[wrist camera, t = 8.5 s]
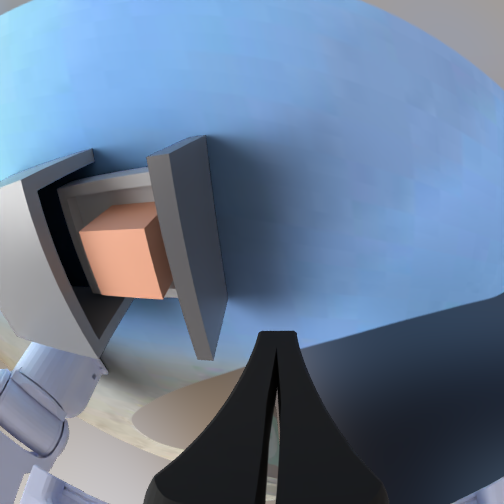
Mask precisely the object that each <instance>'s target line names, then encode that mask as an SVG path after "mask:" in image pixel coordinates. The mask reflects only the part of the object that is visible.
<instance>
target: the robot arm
mask: <svg viewBox="0 0 504 504" xmlns="http://www.w3.org/2000/svg"><path fill="white" fill-rule="evenodd" d="M102 374H104V375H107V374H108V371H107V369H106V368H105V366H104V365H103V363H102V362H101V360H100V359H95V358H91V357H86V356H82V355H78V354H74V353H70V352H66V351H63V350H59V349H55V348H52V347H49V346H45V345H42V344H39V343H35V342H32V343H31V344H30V345H29V347H28V348H27V350H26V351H25V353H24V354H23V356H22V357H21V359H20V360H19V362H18V363H17V365H16V366H15V368H14V369H13V370H12V371H9V370H8V369H0V426H1V427H2V428H4V429H5V430H6V431H7V432H9V433H10V434H11V435H12V436H14V437H15V438H16V439H17V440H19V441H20V442H22V443H23V444H24V445H26V446H27V447H28V448H30V449H31V450H33V451H34V452H29V451H27V450H25V449H23V448H22V447H20V446H19V445H18V444H16V443H15V442H14V441H12V440H11V439H10V438H9V437H7V436H6V435H5V434H4V433H2V432H1V431H0V504H14V501H15V498H16V495H17V491H18V489H19V486H20V483H21V481H22V478H23V476H24V474H26V473H30V476H29V478H28V481H27V484H26V486H25V489H24V492H23V495H22V498H21V501H20V504H109V503H106V502H103V501H101V500H99V499H97V498H95V497H93V496H90V495H88V494H86V493H84V491H82V490H80V489H78V488H76V487H73V486H72V485H70V484H68V483H66V482H64V481H62V480H60V479H59V478H57V477H55V476H53V475H52V474H50V473H48V472H49V471H50V469H51V468H52V466H53V464H54V462H55V461H56V459H57V457H58V456H59V455H60V454H61V453H62V452H63V450H64V448H65V446H66V444H67V441H68V438H69V428H68V427H69V426H68V422H67V420H66V419H65V418H72V417H75V416H77V415H79V414H80V413H81V412H82V411H83V410H84V409H85V408H86V406H87V404H88V402H89V400H90V397H91V395H92V393H93V391H94V389H95V387H96V385H97V383H98V381H99V379H100V377H101V375H102ZM277 390H278V404H279V420H280V445H279V463H278V479H277V493H276V504H389V499H388V496H387V493H386V490H385V487H384V485H383V483H382V481H381V480H380V479H379V478H378V477H377V476H376V475H375V474H374V473H373V472H372V471H371V470H370V469H369V467H368V466H367V465H366V464H365V463H364V462H363V461H362V460H361V458H360V457H359V456H358V455H357V454H356V452H355V451H354V450H353V448H352V447H351V446H350V444H349V443H348V442H347V440H346V439H345V437H344V436H343V435H342V433H341V432H340V431H339V429H338V427H337V426H336V424H335V423H334V421H333V420H332V418H331V416H330V415H329V413H328V411H327V410H326V408H325V406H324V404H323V402H322V400H321V399H320V397H319V395H318V393H317V391H316V388H315V386H314V384H313V382H312V380H311V378H310V375H309V373H308V370H307V368H306V365H305V363H304V360H303V357H302V354H301V351H300V347H299V343H298V339H297V333H296V332H295V331H261V332H259V333H258V337H257V340H256V343H255V346H254V349H253V352H252V354H251V356H250V359H249V361H248V363H247V365H246V367H245V369H244V371H243V373H242V375H241V377H240V379H239V381H238V382H237V384H236V386H235V388H234V389H233V391H232V392H231V394H230V396H229V397H228V399H227V401H226V402H225V403H224V405H223V406H222V408H221V409H220V410H219V412H218V413H217V415H216V416H215V417H214V419H213V420H212V421H211V422H210V424H209V425H208V426H207V427H206V428H205V430H204V431H203V432H202V433H201V434H200V435H199V436H198V437H197V438H196V439H195V440H194V441H193V443H192V444H190V445H189V447H187V448H186V449H185V450H184V451H183V452H182V453H181V454H180V455H179V456H178V457H177V458H176V459H175V460H173V461H172V462H171V463H170V464H169V465H167V466H166V467H165V468H164V469H162V470H161V471H160V472H158V473H157V474H156V475H155V476H154V478H153V479H152V481H151V483H150V485H149V487H148V489H147V491H146V495H145V499H144V503H143V504H265V502H266V488H267V472H268V456H269V442H270V433H271V427H272V420H273V414H274V407H275V400H276V393H277ZM452 504H504V477H502V478H500V479H499V480H497V481H495V482H494V483H492V484H490V485H488V486H487V487H484V488H482V489H480V490H478V491H476V492H474V493H472V494H470V495H468V496H466V497H464V498H462V499H460V500H458V501H457V502H454V503H452Z"/></svg>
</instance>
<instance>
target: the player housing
mask: <svg viewBox="0 0 504 504" xmlns="http://www.w3.org/2000/svg"><path fill="white" fill-rule="evenodd" d="M93 162H95V161H94V156H93V151H92V149H88V150H84V151H81V152H77V153H74V154H71V155H67V156H64V157H61V158H58V159H55V160H52V161H49V162H46V163H43V164H40V165H37V166H35V167H32V168H29V169H27V170H24V171H21V172H19V173H16V174H14V175H12V176H9V177H8V178H6V179H4V180H2V181H0V310H1V312H2V313H3V315H4V317H5V318H6V320H7V322H8V323H9V325H10V327H11V328H12V330H13V331H14V333H15V334H16V336H17V337H20V338H23V339H26V340H29V341H32V342H35V343H39V344H42V345H45V346H49V347H52V348H55V349H59V350H63V351H66V352H70V353H74V354H78V355H82V356H86V357H91V358H95V359H99V358H100V356H101V354H102V353H103V351H104V349H105V347H106V345H107V344H108V342H109V340H110V338H111V337H112V335H113V333H114V331H115V330H116V328H117V326H118V325H119V323H120V321H121V320H122V318H123V316H124V315H125V313H126V311H127V310H128V308H129V306H130V305H131V303H132V301H133V300H134V298H132V297H119V296H107V295H102V294H95V293H93V292H92V290H91V287H81V286H71V285H70V282H69V280H68V278H67V275H66V273H65V271H64V268H63V266H62V264H61V261H60V259H59V256H58V253H57V251H56V248H55V246H54V243H53V240H52V237H51V234H50V232H49V229H48V226H47V223H46V220H45V216H44V213H43V210H42V207H41V203H40V200H39V196H38V192H37V191H38V190H40V189H41V188H43V187H45V186H47V185H49V184H50V183H52V182H54V181H56V180H58V179H60V178H62V177H64V176H66V175H68V174H70V173H72V172H74V171H76V170H78V169H80V168H82V167H84V166H86V165H88V164H91V163H93Z"/></svg>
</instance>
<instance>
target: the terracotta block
mask: <svg viewBox="0 0 504 504" xmlns="http://www.w3.org/2000/svg"><path fill="white" fill-rule="evenodd" d="M79 234H80V237H81V240H82V243H83V246H84V249H85V252H86V255H87V258H88V261H89V263H90V266H91V269H92V271H93V274H94V277H95V279H96V282H97V284H98V287H99V289H100V292H101V294H102V295H107V296H119V297H132V298H147V299H164V297H165V295H166V293H167V291H168V289H169V287H170V285H171V283H172V281H173V277H172V273H171V270H170V266H169V262H168V258H167V254H166V250H165V246H164V242H163V237H162V233H161V229H160V224H159V220H158V215H157V211H156V206H155V202H144V203H132V204H121V205H112V206H110V207H109V208H108V209H107V210H105V211H104V212H103V213H101V214H100V215H99V216H98V217H96V218H95V219H94V220H93V221H91V222H90V223H89V224H88V225H86V226H85V227H84V228H83V229H82V230H80V231H79Z"/></svg>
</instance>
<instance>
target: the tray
mask: <svg viewBox="0 0 504 504" xmlns="http://www.w3.org/2000/svg"><path fill="white" fill-rule="evenodd" d="M146 158H147V164H148V167H142V168H136V169H130V170H124V171H118V172H113V173H108V174H102V175H97V176H93V177H88V178H83V179H79V180H74V181H71V182H69V183H67V184H65V185H63V186H62V187H60V188H58V189H57V192H58V196H59V200H60V203H61V207H62V210H63V214H64V217H65V220H66V223H67V226H68V229H69V232H70V235H71V238H72V241H73V244H74V247H75V250H76V252H77V255H78V258H79V260H80V263H81V266H82V268H83V271H84V273H85V276H86V278H87V280H88V283H89V285H90V287H91V290H92V292H93V293H95V294H101V292H100V289H99V287H98V284H97V282H96V279H95V277H94V274H93V271H92V269H91V266H90V263H89V261H88V258H87V255H86V252H85V249H84V246H83V243H82V240H81V237H80V234H79V231H80V230H82V229H83V228H84V227H85V226H86V225H88V224H89V223H90V222H91V221H93V220H94V219H95V218H96V217H98V216H99V215H100V214H101V213H103V212H104V211H105V210H107V209H108V208H109V207H110V206H112V205H121V204H132V203H144V202H155V206H156V211H157V215H158V220H159V224H160V229H161V233H162V237H163V242H164V246H165V250H166V254H167V258H168V262H169V266H170V270H171V273H172V277H173V281H172V283H171V285H170V287H169V289H168V291H167V293H166V295H165V297H169V298H178V299H179V302H180V306H181V309H182V312H183V316H184V319H185V322H186V325H187V329H188V332H189V335H190V338H191V341H192V344H193V347H194V350H195V353H196V356H197V359H198V360H211V361H213V360H214V356H215V351H216V347H217V343H218V339H219V335H220V330H221V326H222V322H223V318H224V314H225V310H226V305H227V301H228V296H227V289H226V283H225V276H224V270H223V263H222V257H221V250H220V243H219V236H218V229H217V222H216V214H215V207H214V199H213V192H212V184H211V176H210V168H209V159H208V151H207V142H206V135H202V136H194V137H189V138H186V139H184V140H182V141H179V142H177V143H175V144H173V145H171V146H168V147H166V148H164V149H162V150H160V151H158V152H156V153H154V154H152V155H150V156H148V157H146Z"/></svg>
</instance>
